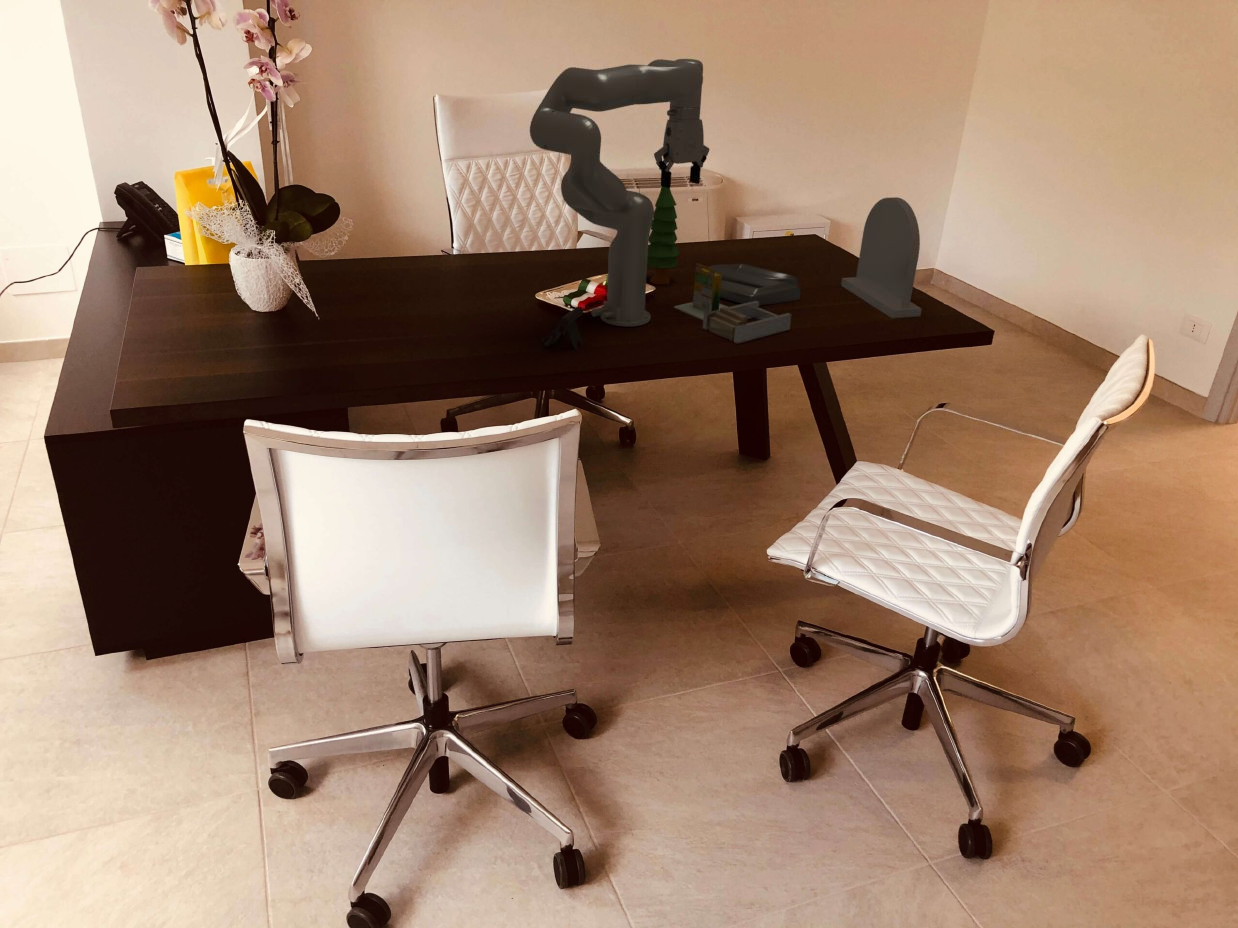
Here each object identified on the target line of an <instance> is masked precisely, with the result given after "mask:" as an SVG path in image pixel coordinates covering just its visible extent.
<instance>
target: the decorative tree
mask: <svg viewBox="0 0 1238 928" xmlns="http://www.w3.org/2000/svg"><path fill="white" fill-rule="evenodd" d="M675 206H677V202H676V201H675V199H674V196H673V193H672V189H671V187H670V188H666V187H662V186H660V191H659V194H658V197H657V200H656V202H655V205H654V207H655V208H654V216H653V221H652V225H651V229H650V234H649V241H648V253H647V266H649V267H654V268H655V272H654V274H653V275H652V276H651V278H650V279H649V281H650V282H651V283H652V284H655V285H670V283H671V279H670V276H669V273H668V268H674V267H676V266H677V265H678V264H679V262H678V260H677V256H680V252H679V250H678V248H677V245H676V242H677V240H678V237H677V234H676V230H678V225H677V221H676V219H678V215H677V212H676V208H675Z"/></svg>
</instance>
